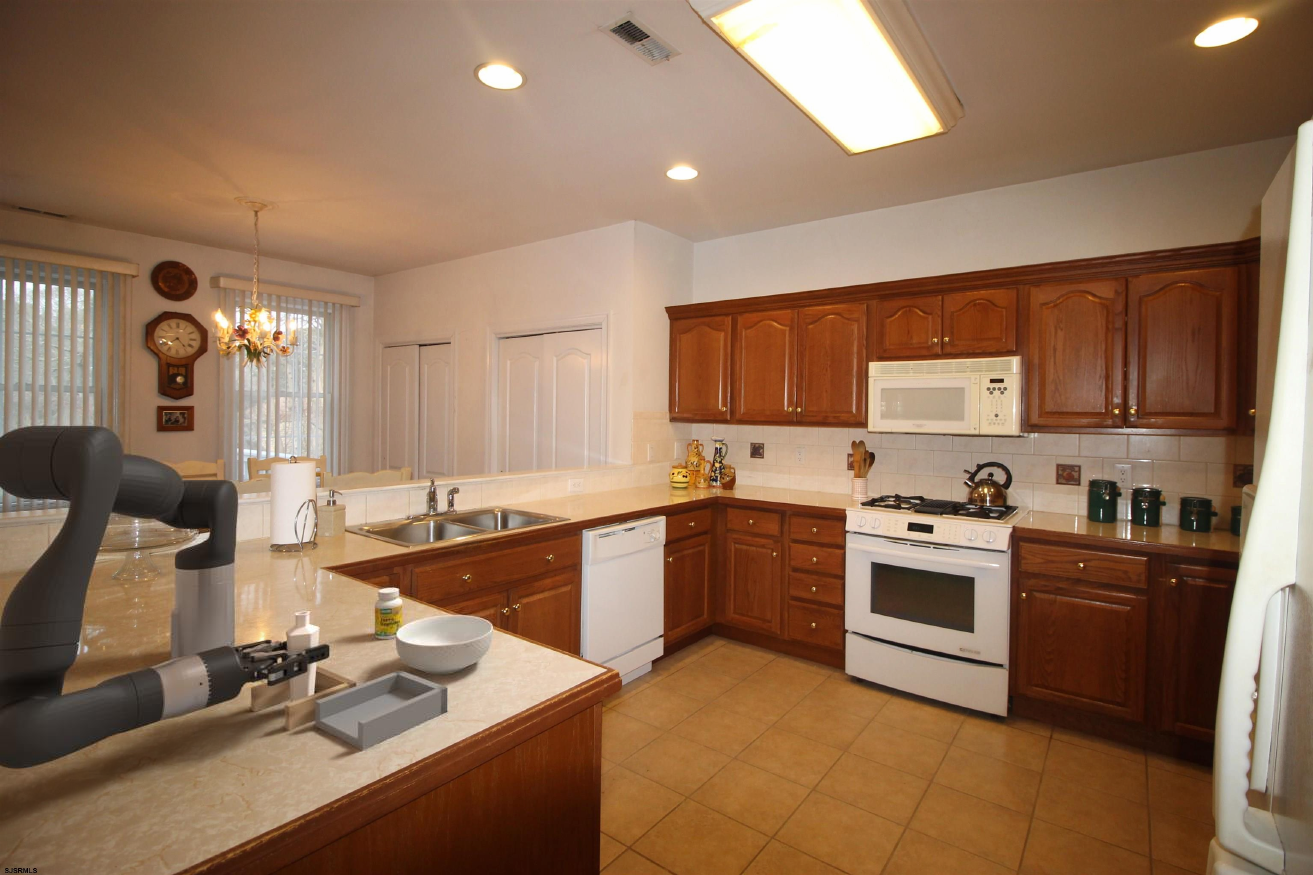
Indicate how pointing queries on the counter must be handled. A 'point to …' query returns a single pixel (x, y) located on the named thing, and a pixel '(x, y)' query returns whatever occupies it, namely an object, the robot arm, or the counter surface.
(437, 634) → the cereal bowl
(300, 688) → the white faceted bottle
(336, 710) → the grey tray
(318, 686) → the oak holder
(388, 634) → the supplement bottle
